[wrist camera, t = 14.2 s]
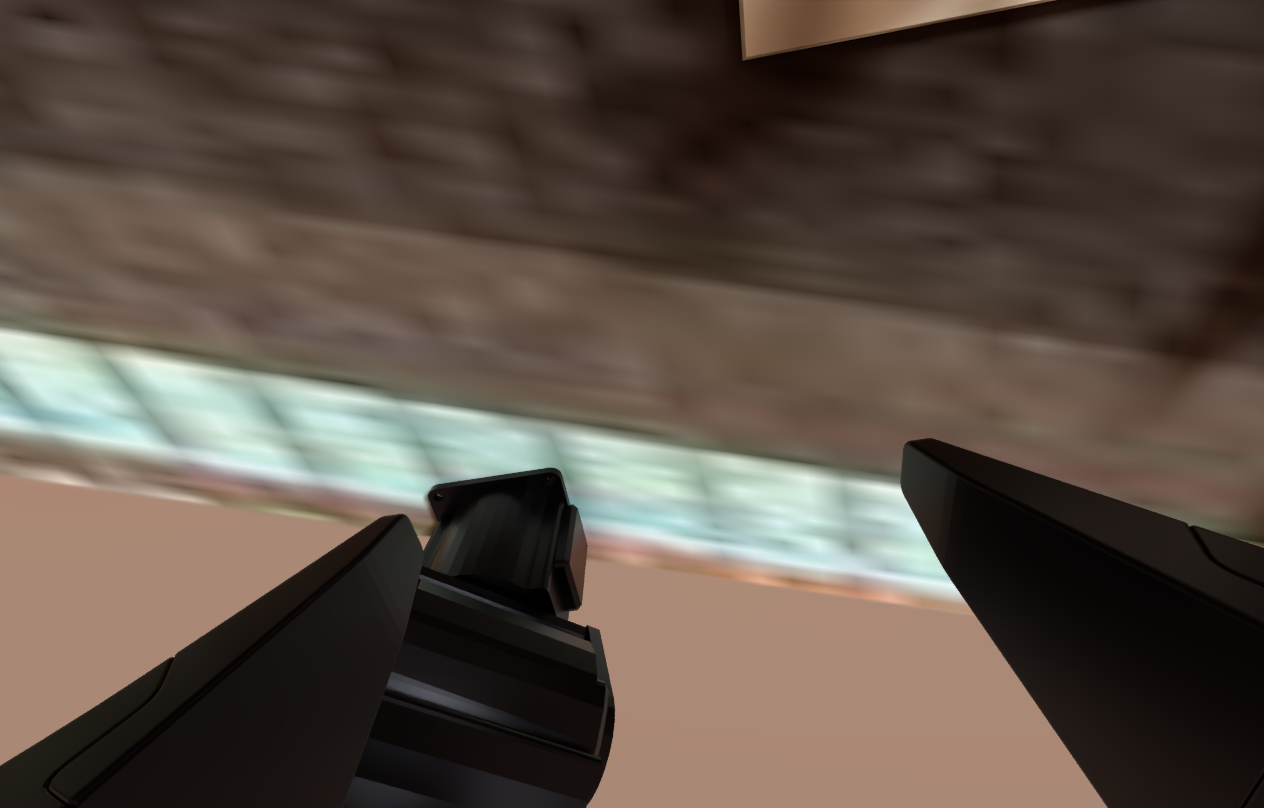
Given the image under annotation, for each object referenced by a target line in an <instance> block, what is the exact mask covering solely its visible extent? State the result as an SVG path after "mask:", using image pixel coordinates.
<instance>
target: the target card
mask: <svg viewBox="0 0 1264 808" xmlns="http://www.w3.org/2000/svg"><path fill="white" fill-rule="evenodd" d="M1049 1H1055V0H739V9H740V27H741V44H742V61H743V60H749V59H754V58H759V57H764V56H769V55H775V54H780V53H785V52H790V51H795V50H800V49H806V48H811V47H816V46H821V45H826V44H832V43H837V42H842V41H847V40H852V39H858V38H863V37H868V36H873V35H878V34H883V33H889V32H894V31H899V30H904V29H909V28H915V27H920V26H925V25H930V24H935V23H940V22H946V21H951V20H956V19H961V18H966V17H972V16H977V15H982V14H987V13H992V12H998V11H1003V10H1008V9H1013V8H1018V7H1023V6H1029V5H1034V4H1039V3H1044V2H1049Z"/></svg>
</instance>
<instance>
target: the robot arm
mask: <svg viewBox="0 0 1264 808" xmlns="http://www.w3.org/2000/svg"><path fill="white" fill-rule="evenodd" d="M547 477H554V478H555V479H556V480H554V481H550V480H548V478H547ZM900 483H901V489H902V492H903V494H904V497H905V498H906V500H907V502H908V504H909V506H910V508H911V510H912V511H913V513H914V515H915V517H916V519H917V521H918V523H919V525H920V526H921V528H922V530H923V532H924V534H925V536H926V538H927V539H928V541H929V543H930V545H931V547H932V549H933V551H934V553H935V554H936V556H937V558H938V560H939V561H940V563H941V565H942V567H943V568H944V570H945V571H946V573H947V575H948V576H949V578H950V579H951V581H952V582H953V584H954V585H955V586H956V588H957V589H958V591H959V592H960V594H961V595H962V597H963V598H964V600H965V601H966V602H967V604H968V605H969V607H970V608H971V610H972V611H973V613H974V614H975V616H976V617H977V618H978V620H979V621H980V623H981V624H982V626H983V627H984V629H985V630H986V632H987V633H988V634H989V636H990V637H991V639H992V640H993V642H994V643H995V645H996V646H997V648H998V649H999V650H1000V652H1001V653H1002V655H1003V656H1004V658H1005V659H1006V661H1007V662H1008V664H1009V665H1010V666H1011V668H1012V669H1013V671H1014V672H1015V674H1016V675H1017V677H1018V678H1019V679H1020V681H1021V682H1022V684H1023V685H1024V687H1025V688H1026V690H1027V691H1028V692H1029V694H1030V695H1031V697H1032V698H1033V700H1034V701H1035V703H1036V704H1037V705H1038V707H1039V709H1040V710H1041V711H1042V713H1043V714H1044V716H1045V717H1046V719H1047V720H1048V722H1049V723H1050V725H1051V726H1052V727H1053V729H1054V730H1055V732H1056V733H1057V735H1058V736H1059V737H1060V739H1061V740H1062V742H1063V743H1064V745H1065V746H1066V748H1067V749H1068V751H1069V752H1070V754H1071V755H1072V757H1073V758H1074V759H1075V761H1076V762H1077V764H1078V765H1079V767H1080V768H1081V770H1082V771H1083V773H1084V774H1085V775H1086V777H1087V778H1088V780H1089V781H1090V783H1091V784H1092V785H1093V787H1094V788H1095V790H1096V791H1097V793H1098V794H1099V796H1100V797H1101V799H1102V800H1103V802H1104V803H1105V804H1106V806H1107V807H1108V808H1264V548H1262V547H1259V546H1256V545H1253V544H1250V543H1246V542H1243V541H1240V540H1237V539H1234V538H1231V537H1228V536H1225V535H1222V534H1219V533H1216V532H1213V531H1210V530H1207V529H1204V528H1201V527H1198V526H1190V527H1189V526H1188V524H1187V523H1185V522H1183V521H1180V520H1177V519H1173V518H1170V517H1167V516H1164V515H1161V514H1158V513H1155V512H1152V511H1149V510H1146V509H1143V508H1140V507H1137V506H1134V505H1131V504H1128V503H1125V502H1122V501H1119V500H1116V499H1113V498H1110V497H1107V496H1104V495H1101V494H1098V493H1095V492H1092V491H1089V490H1086V489H1083V488H1080V487H1077V486H1074V485H1071V484H1068V483H1065V482H1062V481H1059V480H1056V479H1053V478H1050V477H1047V476H1044V475H1041V474H1038V473H1035V472H1032V471H1029V470H1026V469H1023V468H1020V467H1017V466H1014V465H1011V464H1008V463H1005V462H1002V461H999V460H996V459H993V458H990V457H987V456H984V455H981V454H978V453H975V452H972V451H969V450H966V449H963V448H960V447H957V446H954V445H951V444H948V443H945V442H942V441H939V440H936V439H932V438H926V439H919V440H913V441H908V442H907V443H906V444H905V445H904V448H903V455H902V467H901V479H900ZM437 493H440V494H442V495H443V496H444V497H440V496H438V495H437ZM428 497H429V501H430V503H431V506H432V508H433V510H434V513H435V515H436V518H437V520H438V524H437V526H436V528H435V530H434V532H433V533H432V535H431V537H430V539H429V541H428V543H427V545H426V547H425V549H424V551H423V549H422V546H421V543H420V541H419V539H418V537H417V534H416V532H415V530H414V528H413V525H412V523H411V521H410V519H409V518H408V517H407V516H406V515H404V514H396V515H389V516H383V517H381V518H379V519H377V520H376V521H374V522H373V523H371V524H370V525H368V526H367V527H365V528H364V529H362V530H361V531H360V532H358V533H356V534H355V535H354V536H352V537H350V538H349V539H347V540H346V541H345V542H343V543H341V544H340V545H338V546H337V547H335V548H334V549H333V550H331V551H329V552H328V553H327V554H325V555H323V556H322V557H321V558H319V559H318V560H316V561H314V562H313V563H311V564H310V565H308V566H307V567H305V568H304V569H302V570H301V571H299V572H298V573H296V574H295V575H293V576H292V577H290V578H289V579H287V580H286V581H284V582H283V583H281V584H280V585H278V586H277V587H275V588H274V589H272V590H271V591H269V592H268V593H266V594H265V595H263V596H262V597H260V598H259V599H257V600H256V601H254V602H253V603H251V604H250V605H248V606H247V607H246V608H244V609H243V610H241V611H239V612H238V613H236V614H235V615H233V616H232V617H230V618H229V619H227V620H226V621H224V622H223V623H221V624H220V625H218V626H217V627H215V628H214V629H212V630H211V631H210V632H208V633H206V634H205V635H203V636H202V637H200V638H199V639H197V640H196V641H194V642H193V643H191V644H190V645H188V646H187V647H185V648H184V649H182V650H181V651H179V652H178V653H177V654H176V655H175V657H171V658H169V659H167V660H166V661H164V662H163V663H161V664H160V665H158V666H157V667H155V668H154V669H152V670H151V671H149V672H148V673H146V674H145V675H143V676H141V677H140V678H138V679H137V680H135V681H134V682H132V683H131V684H129V685H128V686H126V687H125V688H123V689H122V690H120V691H118V692H117V693H115V694H114V695H112V696H111V697H109V698H108V699H106V700H105V701H103V702H102V703H100V704H99V705H97V706H95V707H94V708H92V709H91V710H89V711H87V712H86V713H84V714H83V715H81V716H79V717H78V718H76V719H75V720H73V721H71V722H70V723H68V724H67V725H65V726H64V727H62V728H60V729H59V730H57V731H56V732H54V733H52V734H51V735H49V736H48V737H46V738H45V739H43V740H41V741H40V742H38V743H36V744H35V745H33V746H31V747H30V748H28V749H26V750H25V751H24V752H22V753H20V754H18V755H17V756H15V757H13V758H12V759H10V760H9V761H7V762H5V763H4V764H2V765H1V766H0V808H586V806H587V804H588V803H589V802H590V801H591V799H592V797H593V795H594V793H595V792H596V790H597V788H598V786H599V783H600V781H601V778H602V776H603V773H604V770H605V767H606V763H607V760H608V757H609V753H610V748H611V743H612V738H613V731H614V723H615V706H614V697H613V692H612V688H611V684H610V678H609V673H608V668H607V663H606V659H605V654H604V649H603V644H602V640H601V635H600V630H599V629H596V628H593V627H591V626H588V625H587V626H586V627H583V626H581V625H578V624H575V623H573V622H570V621H568V617H569V611H574V610H578V609H579V608H580V606H581V605H582V597H583V596H582V595H583V587H584V575H585V566H586V556H587V542H586V538H585V534H584V530H583V526H582V522H581V519H580V515H579V511H578V508H577V507H576V506H574V505H573V504H572V505H570V502H569V499H568V495H567V491H566V487H565V484H564V480H563V476H562V474H561V472H560V471H559V470H558V469H556V468H545V469H538V470H531V471H524V472H518V473H511V474H504V475H498V476H491V477H484V478H477V479H471V480H464V481H457V482H451V483H444V484H438V485H435V486H434V487H433V488H432V489H431V491H430V492H429V495H428Z"/></svg>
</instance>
